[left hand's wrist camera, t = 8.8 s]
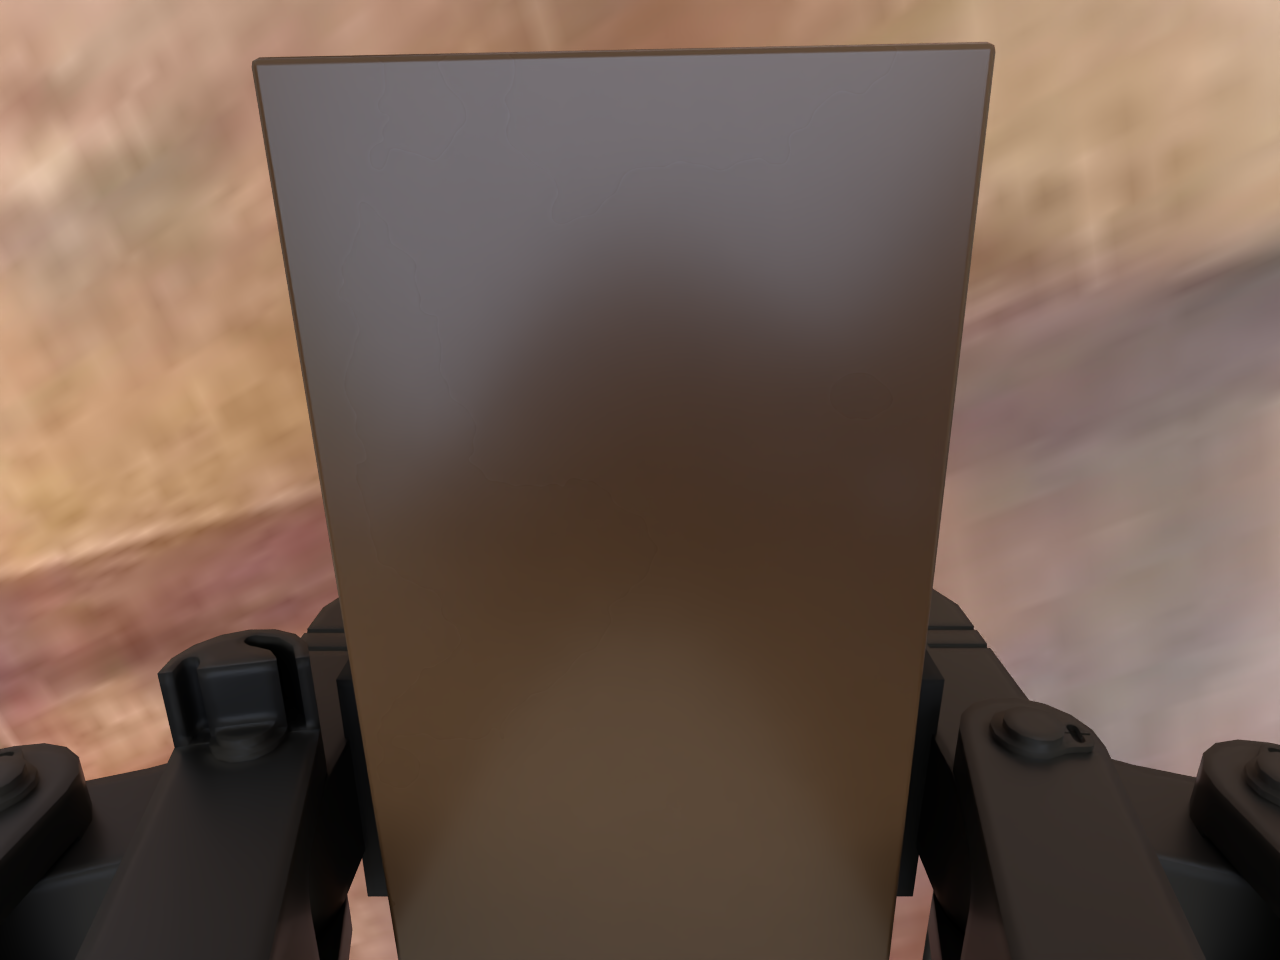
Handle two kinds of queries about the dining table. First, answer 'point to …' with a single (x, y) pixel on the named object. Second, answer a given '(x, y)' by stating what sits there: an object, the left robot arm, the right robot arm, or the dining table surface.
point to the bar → (633, 473)
